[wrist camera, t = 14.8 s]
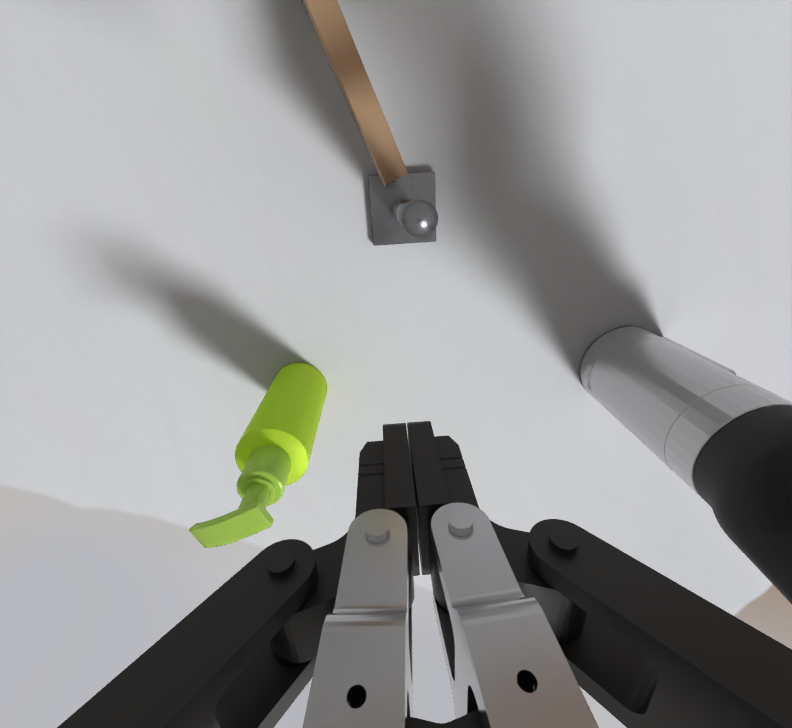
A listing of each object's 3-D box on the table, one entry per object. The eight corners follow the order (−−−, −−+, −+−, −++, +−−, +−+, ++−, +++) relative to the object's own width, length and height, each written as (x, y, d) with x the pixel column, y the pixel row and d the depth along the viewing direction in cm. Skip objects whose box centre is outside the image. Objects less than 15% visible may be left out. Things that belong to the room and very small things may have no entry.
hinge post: (433, 172, 35) (474, 155, 21) (434, 240, 38) (471, 268, 23) (368, 176, 35) (362, 162, 20) (373, 244, 37) (372, 275, 23)
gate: (408, 174, 34) (423, 163, 23) (375, 191, 34) (375, 189, 23) (308, -69, 27) (262, -247, 16) (270, -44, 28) (199, -201, 17)
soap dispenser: (256, 378, 43) (165, 515, 24) (311, 354, 42) (260, 478, 24) (283, 419, 45) (218, 572, 27) (335, 397, 44) (306, 540, 26)
